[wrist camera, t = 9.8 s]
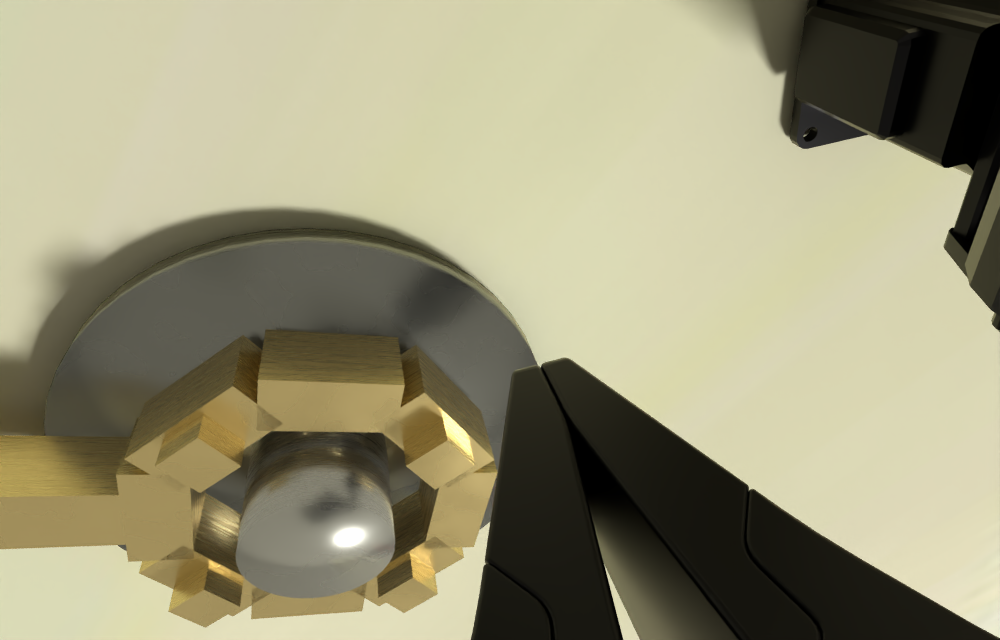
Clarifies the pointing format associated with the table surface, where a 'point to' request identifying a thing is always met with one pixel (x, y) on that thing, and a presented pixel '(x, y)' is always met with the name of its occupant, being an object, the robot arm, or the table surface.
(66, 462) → the wooden gear crank
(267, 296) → the cap plate
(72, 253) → the table surface
